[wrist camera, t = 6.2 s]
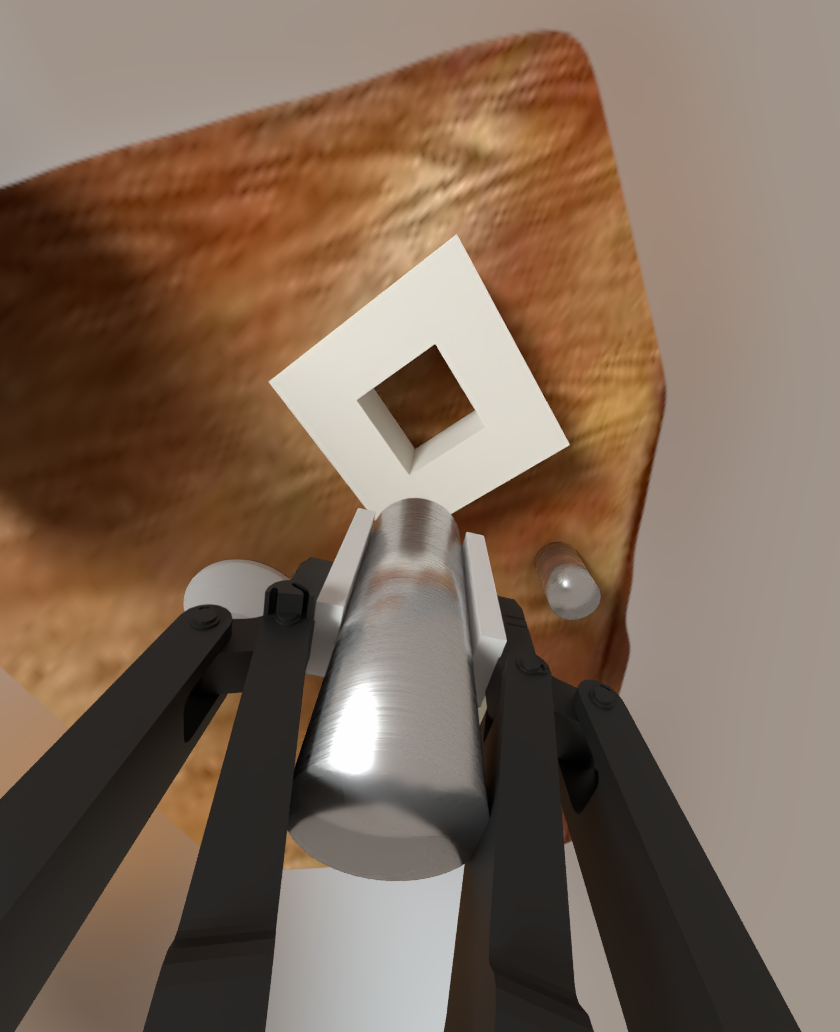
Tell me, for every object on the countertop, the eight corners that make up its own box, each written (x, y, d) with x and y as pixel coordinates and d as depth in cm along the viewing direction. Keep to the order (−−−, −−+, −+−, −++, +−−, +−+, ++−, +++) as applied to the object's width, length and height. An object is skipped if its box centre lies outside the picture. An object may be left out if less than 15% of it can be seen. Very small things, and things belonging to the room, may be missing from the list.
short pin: (526, 555, 39) (540, 592, 33) (566, 534, 38) (587, 569, 32) (546, 586, 40) (562, 626, 34) (585, 566, 39) (609, 605, 33)
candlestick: (234, 534, 39) (-249, 1011, 12) (336, 616, 42) (147, 1135, 15) (163, 610, 43) (-319, 1095, 16) (262, 679, 46) (5, 1179, 19)
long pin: (354, 525, 19) (239, 797, 8) (430, 481, 18) (417, 724, 7) (403, 589, 20) (362, 898, 9) (475, 551, 19) (526, 848, 8)
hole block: (302, 371, 33) (268, 381, 26) (453, 255, 29) (456, 234, 23) (403, 509, 37) (395, 546, 31) (545, 423, 34) (569, 444, 27)
